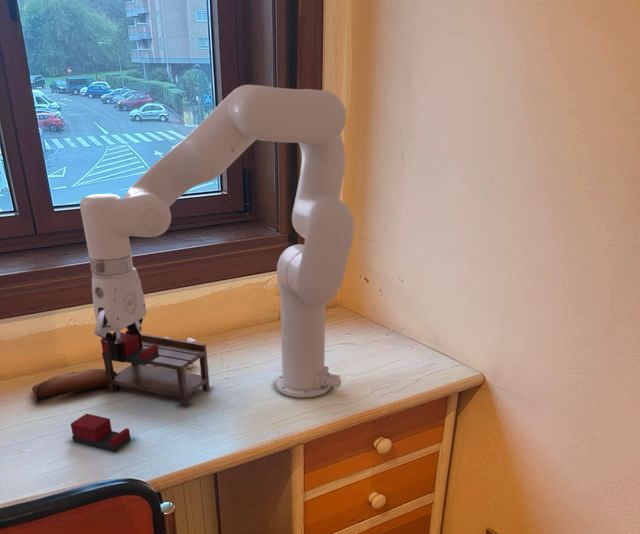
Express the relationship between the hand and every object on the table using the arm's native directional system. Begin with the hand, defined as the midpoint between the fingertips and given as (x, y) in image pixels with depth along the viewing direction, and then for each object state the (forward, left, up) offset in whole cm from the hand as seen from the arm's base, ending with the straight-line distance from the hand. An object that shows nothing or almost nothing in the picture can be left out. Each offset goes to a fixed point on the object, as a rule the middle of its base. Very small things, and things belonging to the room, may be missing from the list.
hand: (127, 354), depth 128 cm
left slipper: (-1, +12, -13) cm, 18 cm away
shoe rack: (+2, -11, -13) cm, 18 cm away
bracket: (+9, -26, -13) cm, 31 cm away
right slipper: (-1, 0, 0) cm, 1 cm away
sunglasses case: (+19, -4, -13) cm, 24 cm away
